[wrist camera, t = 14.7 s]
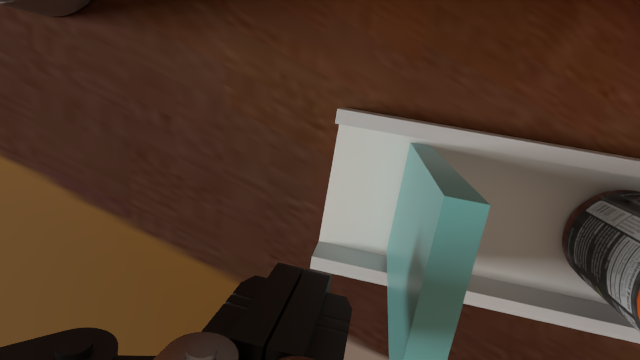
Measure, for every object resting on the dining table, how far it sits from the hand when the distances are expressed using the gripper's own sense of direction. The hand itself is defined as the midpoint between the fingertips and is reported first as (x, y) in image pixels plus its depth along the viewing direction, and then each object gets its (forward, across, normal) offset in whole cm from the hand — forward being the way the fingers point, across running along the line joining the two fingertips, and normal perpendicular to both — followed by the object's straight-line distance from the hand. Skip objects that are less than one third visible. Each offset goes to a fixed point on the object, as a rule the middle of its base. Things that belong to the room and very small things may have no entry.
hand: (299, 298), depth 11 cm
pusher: (+14, -4, 0) cm, 14 cm away
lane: (+15, -10, 0) cm, 18 cm away
